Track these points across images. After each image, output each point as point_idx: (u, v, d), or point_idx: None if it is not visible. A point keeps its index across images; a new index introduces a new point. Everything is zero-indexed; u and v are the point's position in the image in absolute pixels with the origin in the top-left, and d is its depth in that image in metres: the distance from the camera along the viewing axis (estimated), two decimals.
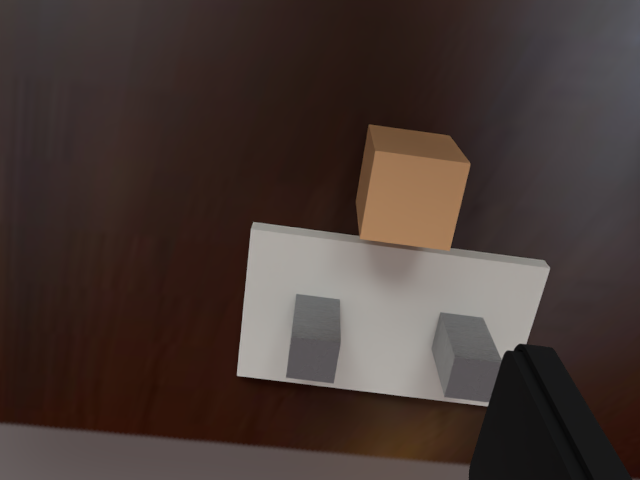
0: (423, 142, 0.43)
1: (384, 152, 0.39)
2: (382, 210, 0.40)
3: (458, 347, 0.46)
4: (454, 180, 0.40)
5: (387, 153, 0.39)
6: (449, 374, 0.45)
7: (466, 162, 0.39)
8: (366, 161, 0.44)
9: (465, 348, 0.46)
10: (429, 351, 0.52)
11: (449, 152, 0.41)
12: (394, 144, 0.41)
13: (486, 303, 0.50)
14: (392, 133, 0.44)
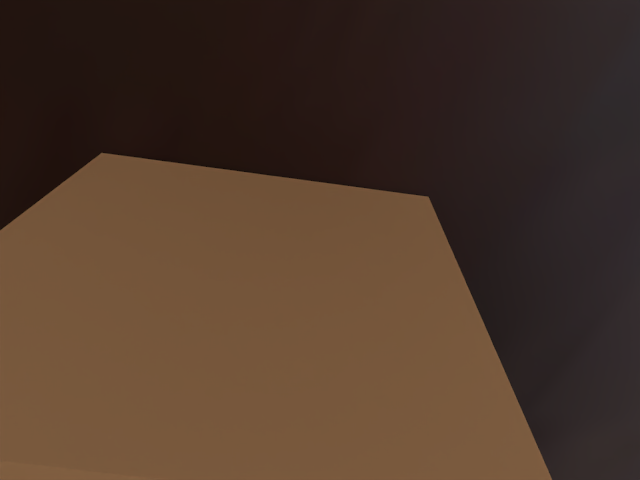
0: (285, 256, 0.08)
1: None
2: None
3: None
4: None
5: None
6: None
7: None
8: None
9: None
10: None
11: (411, 348, 0.07)
12: (69, 298, 0.07)
13: None
14: (161, 200, 0.10)
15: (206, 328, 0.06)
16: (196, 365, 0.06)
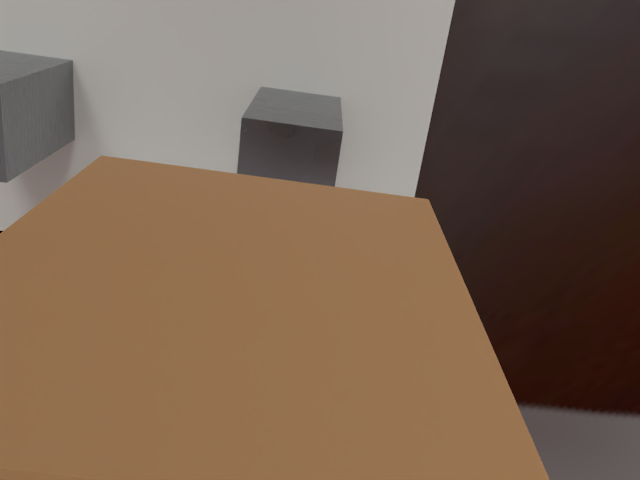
0: (284, 260, 0.08)
1: None
2: None
3: (261, 111, 0.23)
4: None
5: None
6: (238, 162, 0.22)
7: None
8: None
9: (275, 113, 0.23)
10: None
11: (410, 353, 0.07)
12: (68, 303, 0.07)
13: (344, 67, 0.27)
14: (161, 203, 0.10)
15: (205, 333, 0.06)
16: (195, 370, 0.06)
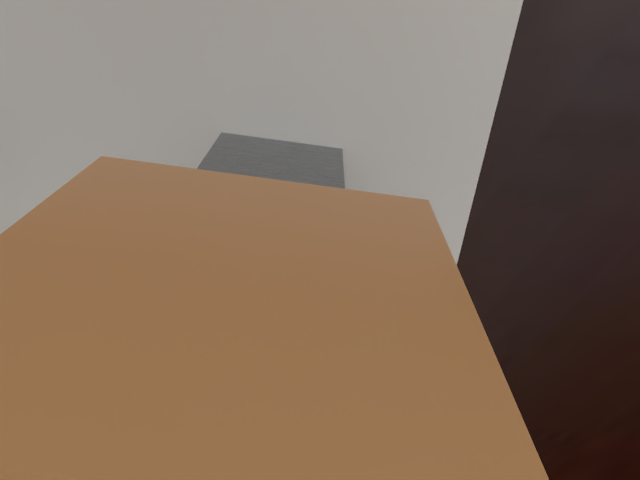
0: (284, 261, 0.08)
1: None
2: None
3: None
4: None
5: None
6: None
7: None
8: None
9: None
10: None
11: (410, 354, 0.07)
12: (68, 304, 0.07)
13: (348, 104, 0.18)
14: (161, 204, 0.10)
15: (205, 334, 0.06)
16: (195, 372, 0.06)
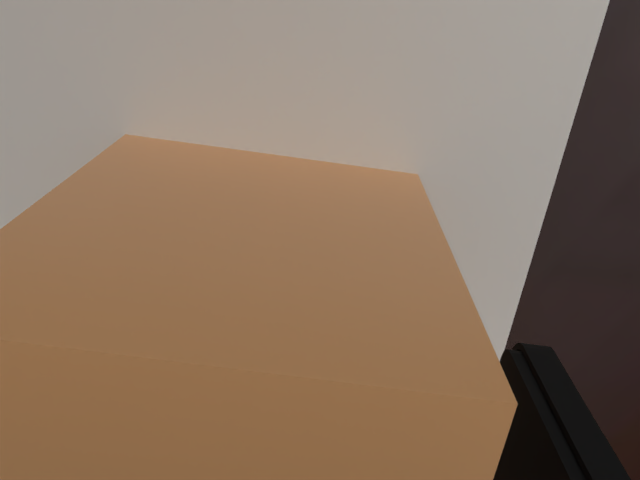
0: (291, 218, 0.10)
1: None
2: None
3: None
4: None
5: None
6: None
7: (490, 389, 0.06)
8: None
9: None
10: None
11: (396, 286, 0.08)
12: (112, 244, 0.08)
13: (356, 165, 0.13)
14: (181, 172, 0.11)
15: (227, 267, 0.08)
16: (220, 293, 0.07)
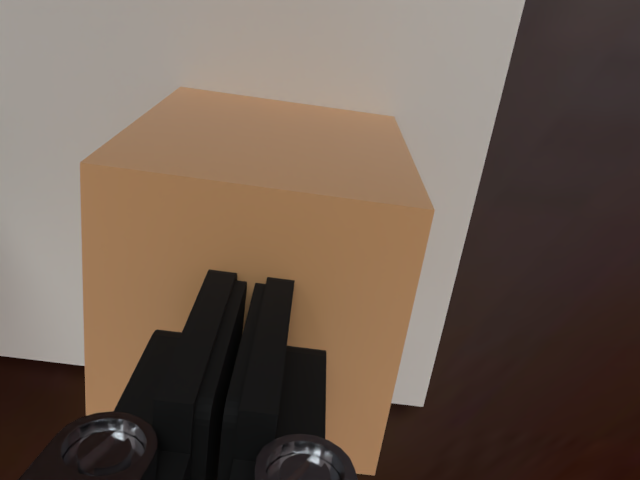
0: (303, 133, 0.14)
1: (116, 169, 0.11)
2: None
3: None
4: (378, 267, 0.11)
5: (127, 172, 0.11)
6: None
7: (420, 204, 0.11)
8: None
9: None
10: None
11: (371, 165, 0.13)
12: (193, 139, 0.13)
13: None
14: (226, 108, 0.16)
15: (265, 153, 0.13)
16: (263, 162, 0.12)
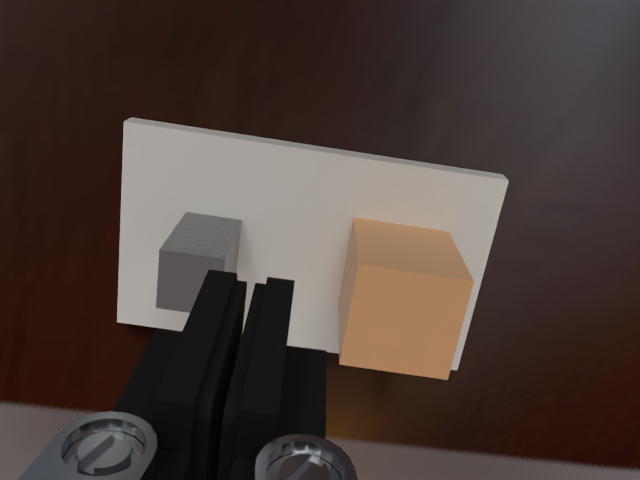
0: (417, 245, 0.36)
1: (369, 266, 0.32)
2: (367, 332, 0.33)
3: None
4: (454, 300, 0.33)
5: (373, 267, 0.32)
6: None
7: (469, 279, 0.32)
8: (349, 265, 0.37)
9: None
10: None
11: (448, 262, 0.34)
12: (382, 251, 0.34)
13: None
14: (381, 231, 0.37)
15: (410, 257, 0.34)
16: (411, 261, 0.33)
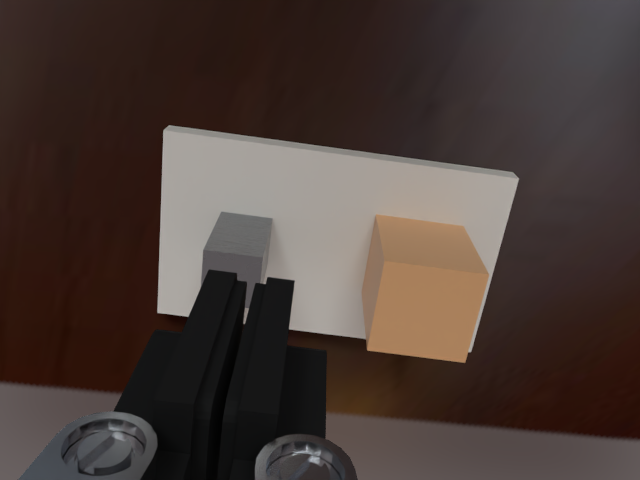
0: (436, 241, 0.39)
1: (394, 262, 0.35)
2: (392, 321, 0.37)
3: None
4: (471, 291, 0.36)
5: (398, 263, 0.35)
6: None
7: (484, 272, 0.36)
8: (373, 259, 0.40)
9: None
10: None
11: (465, 256, 0.38)
12: (405, 247, 0.38)
13: (445, 223, 0.43)
14: (402, 228, 0.41)
15: (430, 252, 0.37)
16: (432, 257, 0.37)
